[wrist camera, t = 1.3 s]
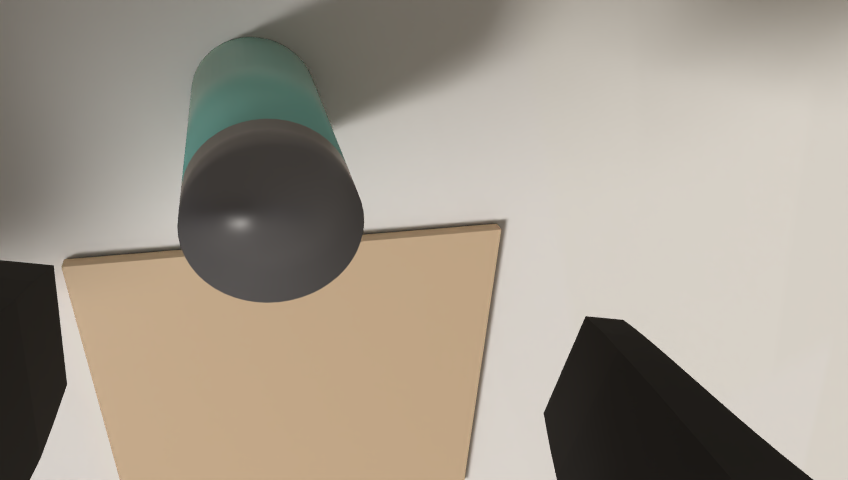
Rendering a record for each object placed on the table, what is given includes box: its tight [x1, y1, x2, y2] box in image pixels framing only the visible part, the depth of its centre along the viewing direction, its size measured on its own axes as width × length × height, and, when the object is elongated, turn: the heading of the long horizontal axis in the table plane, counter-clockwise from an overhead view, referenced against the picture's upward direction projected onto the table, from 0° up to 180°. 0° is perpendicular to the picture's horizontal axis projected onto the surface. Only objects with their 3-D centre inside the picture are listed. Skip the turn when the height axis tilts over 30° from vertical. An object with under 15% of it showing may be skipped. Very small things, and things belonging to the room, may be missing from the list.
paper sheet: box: [62, 224, 501, 480], centre depth 23 cm, size 13×13×1 cm
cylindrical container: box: [178, 37, 364, 303], centre depth 14 cm, size 3×3×7 cm
